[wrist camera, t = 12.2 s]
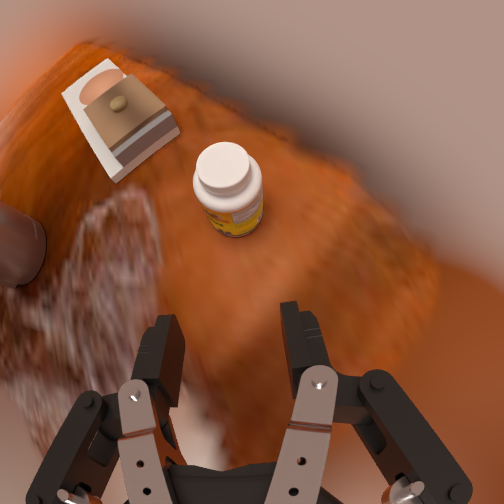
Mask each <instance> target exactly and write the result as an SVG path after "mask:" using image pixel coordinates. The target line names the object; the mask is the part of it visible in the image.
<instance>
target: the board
mask: <svg viewBox="0 0 504 504" xmlns="http://www.w3.org/2000/svg"><path fill="white" fill-rule="evenodd" d="M125 77H127V76H126V75H125V74H124V73H123V72H122V71H121V70H120V69H119V68H118V67H117V66H115V65H114V64H113V63H112V62H111V61H110V60H109V59H108V58H107V59H106V60H104V61H103V62H102V63H100V64H99V65H97V66H96V67H95V68H93V69H92V70H90V71H89V72H88V73H86V74H85V75H84V76H83V77H81V78H80V79H79V80H77V81H76V82H75V83H74V84H72V85H71V86H70V87H69V88H67V89H66V90H65V91H64V92H63V93H62V95H63V97H64V99H65V101H66V103H67V105H68V107H69V108H70V110H71V112H72V114H73V116H74V117H75V119H76V121H77V123H78V125H79V126H80V128H81V130H82V132H83V133H84V135H85V137H86V139H87V140H88V142H89V144H90V145H91V147H92V149H93V151H94V152H95V154H96V156H97V157H98V159H99V160H100V162H101V164H102V165H103V167H104V169H105V170H106V172H107V173H108V175H109V177H110V178H111V179H112V180H113V181H114V182H115V183H116V184H117V183H118V182H119V181H120V180H121V179H122V178H124V177H125V176H126V175H127V174H128V173H130V172H131V171H132V170H133V169H134V168H136V167H137V166H138V165H139V164H141V163H142V162H143V161H144V160H146V159H147V158H148V157H149V156H151V155H152V154H153V153H155V152H156V151H157V150H159V149H160V148H161V147H163V146H164V145H165V144H167V143H168V142H169V141H171V140H172V139H173V138H175V137H176V136H178V135H179V134H180V131H179V129H178V127H177V124H176V122H175V120H174V117H173V115H172V114H171V113H170V112H169V111H168V110H167V111H166V112H164V113H163V114H161V115H160V116H158V117H157V118H156V119H154V120H153V121H151V122H150V123H149V124H147V125H146V126H145V127H143V128H142V129H141V130H139V131H138V132H137V133H135V134H134V135H133V136H131V137H130V138H129V139H128V140H126V141H125V142H124V143H122V144H121V145H120V146H119V147H118V148H116V149H115V150H114V151H113V152H111V151H110V150H109V149H108V147H107V146H106V144H105V143H104V141H103V140H102V138H101V137H100V135H99V134H98V132H97V131H96V129H95V128H94V126H93V124H92V123H91V121H90V120H89V118H88V116H87V115H86V113H85V112H84V110H83V109H84V108H85V107H86V106H88V105H89V104H90V103H91V102H93V101H94V100H95V99H97V98H98V97H99V96H100V95H102V94H103V93H104V92H106V91H107V90H108V89H110V88H111V87H113V86H114V85H115V84H117V83H118V82H120V81H121V80H122V79H124V78H125Z"/></svg>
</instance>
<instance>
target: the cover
mask: <svg viewBox="0 0 504 504" xmlns="http://www.w3.org/2000/svg"><path fill="white" fill-rule="evenodd" d="M83 110H84V112H85V113H86V115H87V116H88V118H89V120H90V121H91V123H92V124H93V126H94V128H95V129H96V131H97V132H98V134H99V135H100V137H101V138H102V140H103V141H104V143H105V144H106V146H107V147H108V149H109V150H110V151H111V152H113V151H114V150H115V149H116V148H118V147H119V146H120V145H121V144H122V143H124V142H125V141H126V140H128V139H129V138H130V137H131V136H133V135H134V134H135V133H137V132H138V131H139V130H141V129H142V128H143V127H145V126H146V125H147V124H149V123H150V122H151V121H153V120H154V119H156V118H157V117H158V116H160V115H161V114H163V113H164V112H166V111H167V110H168V109H167V107H166V105H165V104H164V103H163V102H161V101H160V100H159V99H158V98H157V97H156V96H155V95H154V94H153V93H152V92H151V91H150V90H149V89H148V88H147V87H146V86H145V85H143V84H142V83H141V82H140V81H139V80H138V79H137V78H136V77H135V76H134V75H133V74H132V73H131V74H130V75H128V76H127V77H125V78H124V79H122V80H121V81H120V82H118V83H117V84H115V85H114V86H113V87H111V88H110V89H108V90H107V91H106V92H104V93H103V94H102V95H100V96H99V97H98V98H97V99H95V100H94V101H93V102H91V103H90V104H89V105H88V106H86V107H85V108H84V109H83Z"/></svg>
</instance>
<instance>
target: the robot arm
mask: <svg viewBox="0 0 504 504" xmlns="http://www.w3.org/2000/svg"><path fill="white" fill-rule="evenodd" d="M45 250H46V236H45V232H44V229H43V227H42V225H41V224H40V223H39V222H38V221H36V220H34V219H33V218H31V217H30V216H27V215H25V214H23V213H22V212H20V211H18V210H16V209H15V208H13V207H11V206H9V205H7V204H6V203H4V202H2V201H0V285H1V286H6V287H10V288H16V287H17V285H24V284H27V283H29V282H30V281H32V280H33V279H34V277H35V276H36V275H37V273H38V272H39V270H40V268H41V266H42V263H43V260H44V256H45ZM280 313H281V326H282V335H283V341H284V347H285V353H286V359H287V365H288V371H289V377H290V383H291V389H292V396H293V399H296V402H295V406H294V410H293V414H292V418H291V421H290V423H289V424H288V427H287V430H286V433H285V437H284V440H283V444H282V447H281V451H280V455H279V458H278V461H277V462H271V463H261V464H250V465H246V466H243V467H239V468H235V469H232V470H228V471H223V472H221V471H216V470H211V469H207V468H203V467H199V466H195V465H194V466H193V465H187V463H186V461H185V459H184V458H183V456H182V454H181V452H180V449H179V446H178V442H177V439H176V435H175V432H174V428H173V425H172V421H171V418H170V416H169V409H170V407H178V400H179V392H180V383H181V376H182V368H183V361H184V354H185V340H184V336H183V334H182V331H181V329H180V326H179V324H178V321H177V319H176V316H175V315H174V314H171V315H159V316H158V317H157V319H156V323H155V327H149V328H148V329H147V330H146V332H145V333H144V334H143V336H142V340H141V343H140V347H139V350H138V354H137V357H136V361H135V365H134V369H133V372H132V376H131V380H130V381H128V382H126V383H124V384H123V385H122V386H121V388H120V389H119V392H118V393H114V394H110V395H106V396H101V395H100V394H99V393H98V392H96V391H92V390H90V391H86V392H84V393H82V394H81V395H80V396H79V397H78V399H77V400H76V402H75V404H74V405H73V407H72V409H71V411H70V412H69V414H68V416H67V417H66V419H65V421H64V423H63V425H62V426H61V428H60V430H59V432H58V434H57V435H56V437H55V439H54V441H53V443H52V445H51V446H50V448H49V450H48V452H47V454H46V456H45V458H44V460H43V462H42V464H41V466H40V468H39V470H38V472H37V474H36V476H35V478H34V480H33V482H32V484H31V486H30V488H29V490H28V492H27V495H26V504H102V501H101V500H100V499H101V497H102V494H103V492H104V490H105V488H106V486H107V483H108V481H109V479H110V476H111V474H112V472H113V470H114V468H115V466H116V463H117V461H118V459H119V457H120V459H121V465H122V471H123V475H124V481H125V485H126V490H127V494H128V498H129V499H128V500H127V501H126V502H125V503H124V504H343V503H342V502H341V501H339V500H338V499H337V498H335V497H334V496H333V495H331V494H330V493H329V492H327V491H326V490H325V489H324V488H322V487H321V481H322V477H323V472H324V468H325V463H326V458H327V453H328V447H329V442H330V436H331V429H332V428H331V427H332V422H337V423H350V424H352V426H353V427H354V429H355V431H356V432H357V434H358V436H359V437H360V439H361V440H362V442H363V443H364V445H365V447H366V448H367V450H368V452H369V453H370V455H371V456H372V458H373V460H374V461H375V463H376V465H377V466H378V468H379V469H380V471H381V473H382V474H383V476H384V477H385V479H386V480H387V482H388V484H389V485H390V486H389V487H388V488H387V489H386V490H385V491H384V493H383V495H382V498H381V502H382V504H467V503H468V502H469V500H470V499H471V496H472V492H473V487H472V483H471V482H470V480H469V479H468V477H467V476H466V474H465V473H464V471H463V470H462V469H461V467H460V466H459V464H458V463H457V462H456V460H455V459H454V458H453V456H452V455H451V453H450V452H449V451H448V449H447V448H446V447H445V445H444V444H443V442H442V441H441V440H440V438H439V437H438V436H437V434H436V433H435V432H434V430H433V429H432V428H431V426H430V425H429V424H428V422H427V421H426V420H425V418H424V417H423V416H422V414H421V413H420V412H419V410H418V409H417V408H416V407H415V405H414V404H413V402H412V401H411V400H410V399H409V397H408V396H407V395H406V393H405V392H404V391H403V390H402V388H401V387H400V386H399V384H398V383H397V382H396V381H395V379H394V378H393V377H392V376H391V374H389V373H388V372H386V371H384V370H378V369H376V370H371V371H368V372H367V373H365V374H364V375H363V376H362V377H356V376H346V375H342V374H340V373H338V372H337V371H335V370H334V369H333V367H332V366H331V364H330V361H329V358H328V354H327V351H326V347H325V344H324V341H323V337H322V334H321V331H320V328H319V324H318V321H317V318H316V317H315V316H314V315H313V314H312V313H311V312H310V311H303V312H299V309H298V305H297V302H296V301H290V302H283V303H280ZM97 431H98V432H97ZM96 433H97V434H96ZM93 438H94V439H93ZM92 440H93V441H92ZM91 442H92V443H91ZM90 444H91V445H90ZM89 446H90V447H89ZM88 448H89V449H88Z"/></svg>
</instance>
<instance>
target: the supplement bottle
mask: <svg viewBox="0 0 504 504" xmlns="http://www.w3.org/2000/svg"><path fill="white" fill-rule="evenodd" d="M193 188H194V192H195V194H196V196H197V198H198V200H199V202H200V204H201V206H202V208H203V209H204V211H205V213H206V214H207V216H208V218H209V220H210V221H211V223H212V225H213V226H214V227H215V229H216V230H218V231H219V232H220V233H222V234H224V235H227V236H231V237H239V236H244V235H246V234H248V233H250V232H252V231H253V230H254V229H255V228H256V227H257V226H258V225H259V223H260V221H261V219H262V215H263V191H262V175H261V170H260V168H259V166H258V164H257V162H256V161H255V160H254V159H253V158H252V157H251V156H249V155H248V154H247V152H246V151H245V150H244V149H243V148H242V147H241V146H239V145H237V144H234V143H230V142H220V143H216V144H213V145H211V146H209V147H208V148H206V149H205V150H204V151H203V152H202V153H201V154H200V156H199V158H198V160H197V163H196V171H195V173H194V177H193Z"/></svg>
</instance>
